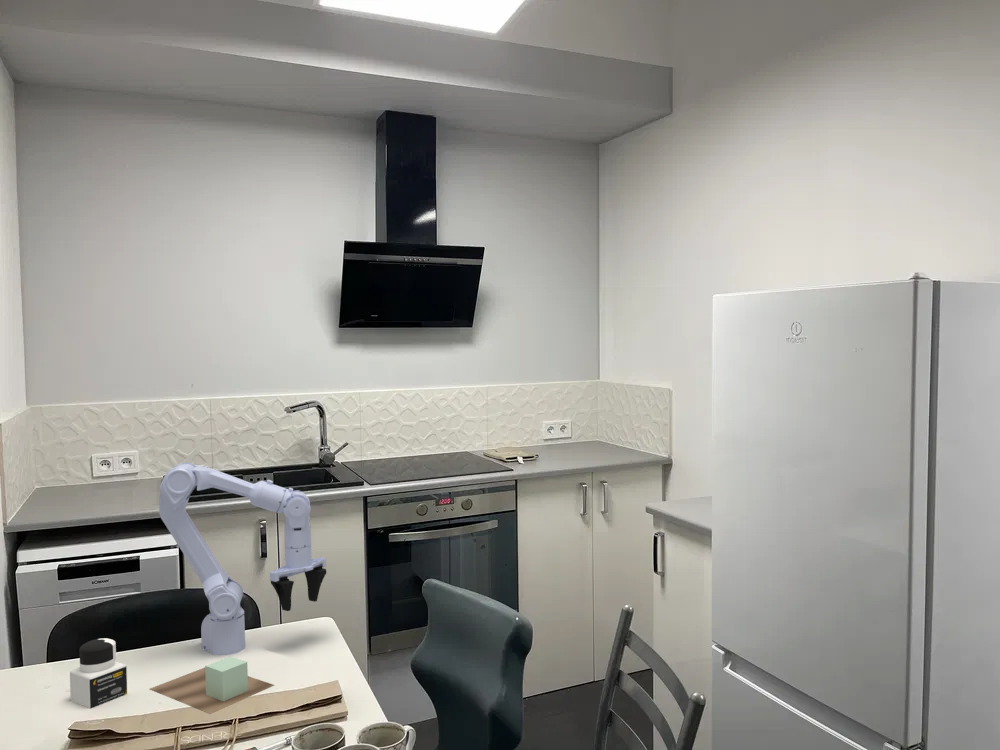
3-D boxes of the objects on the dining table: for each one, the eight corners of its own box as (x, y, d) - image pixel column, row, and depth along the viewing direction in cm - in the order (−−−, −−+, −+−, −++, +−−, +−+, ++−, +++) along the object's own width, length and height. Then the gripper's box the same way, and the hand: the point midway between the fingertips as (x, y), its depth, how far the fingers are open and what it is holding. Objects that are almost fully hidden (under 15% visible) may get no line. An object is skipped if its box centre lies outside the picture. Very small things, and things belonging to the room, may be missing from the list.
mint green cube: (206, 694, 138) (205, 665, 138) (231, 684, 143) (230, 656, 143) (223, 701, 135) (222, 671, 135) (248, 690, 140) (247, 661, 140)
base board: (149, 696, 142) (148, 673, 142) (213, 671, 153) (212, 649, 153) (210, 722, 130) (209, 697, 130) (274, 692, 142) (274, 669, 142)
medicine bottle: (90, 716, 134) (88, 651, 134) (70, 708, 138) (68, 644, 138) (128, 701, 140) (126, 638, 140) (107, 693, 144) (105, 632, 144)
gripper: (283, 554, 158) (285, 617, 158) (334, 540, 170) (336, 599, 170) (262, 550, 162) (264, 612, 162) (314, 537, 174) (315, 594, 174)
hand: (299, 605), depth 166 cm, fingers open, 7 cm apart
